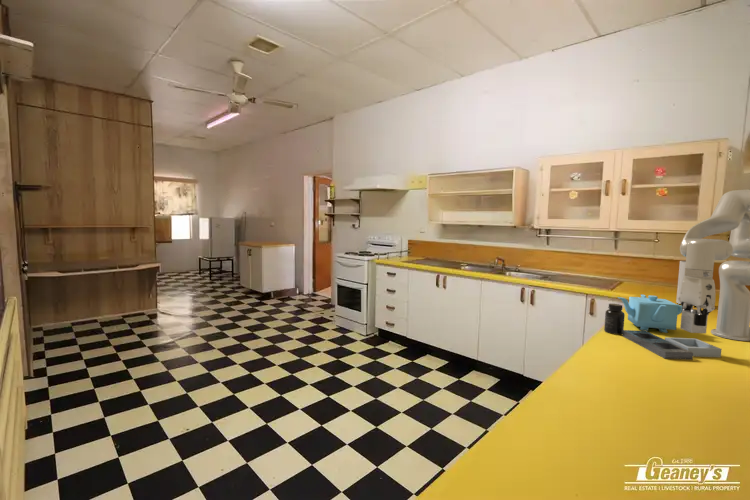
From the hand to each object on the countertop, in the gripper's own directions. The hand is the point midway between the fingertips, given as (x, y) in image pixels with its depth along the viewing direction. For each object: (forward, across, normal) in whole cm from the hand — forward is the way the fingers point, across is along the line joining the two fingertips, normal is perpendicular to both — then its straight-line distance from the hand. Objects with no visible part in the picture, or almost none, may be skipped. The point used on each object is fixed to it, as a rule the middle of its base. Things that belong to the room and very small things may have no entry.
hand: (693, 322), depth 129 cm
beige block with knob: (+3, 0, 0) cm, 3 cm away
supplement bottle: (+11, +20, +16) cm, 28 cm away
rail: (+11, +3, +11) cm, 15 cm away
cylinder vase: (+10, +78, -59) cm, 99 cm away
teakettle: (+11, +28, -3) cm, 30 cm away
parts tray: (+11, 0, 0) cm, 11 cm away
